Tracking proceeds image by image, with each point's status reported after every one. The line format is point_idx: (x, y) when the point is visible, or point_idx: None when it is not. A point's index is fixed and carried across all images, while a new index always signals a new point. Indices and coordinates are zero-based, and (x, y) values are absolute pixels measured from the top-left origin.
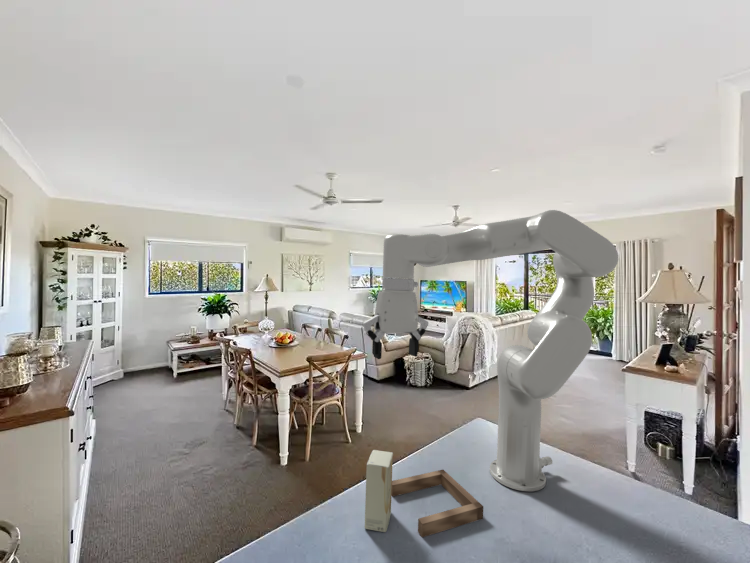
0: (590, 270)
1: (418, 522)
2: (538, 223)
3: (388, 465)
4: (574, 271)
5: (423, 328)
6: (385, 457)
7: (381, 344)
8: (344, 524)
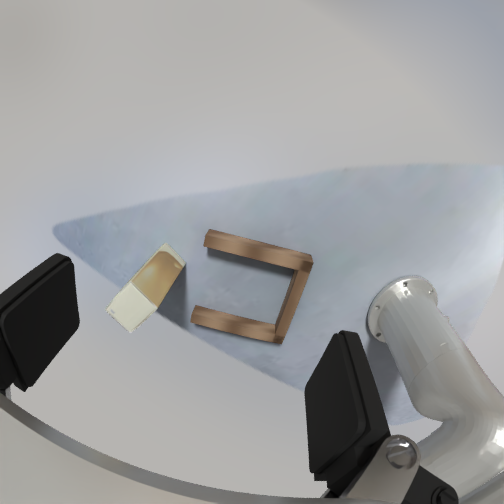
0: None
1: (192, 312)
2: None
3: (132, 330)
4: None
5: None
6: (137, 313)
7: (34, 381)
8: (125, 246)
